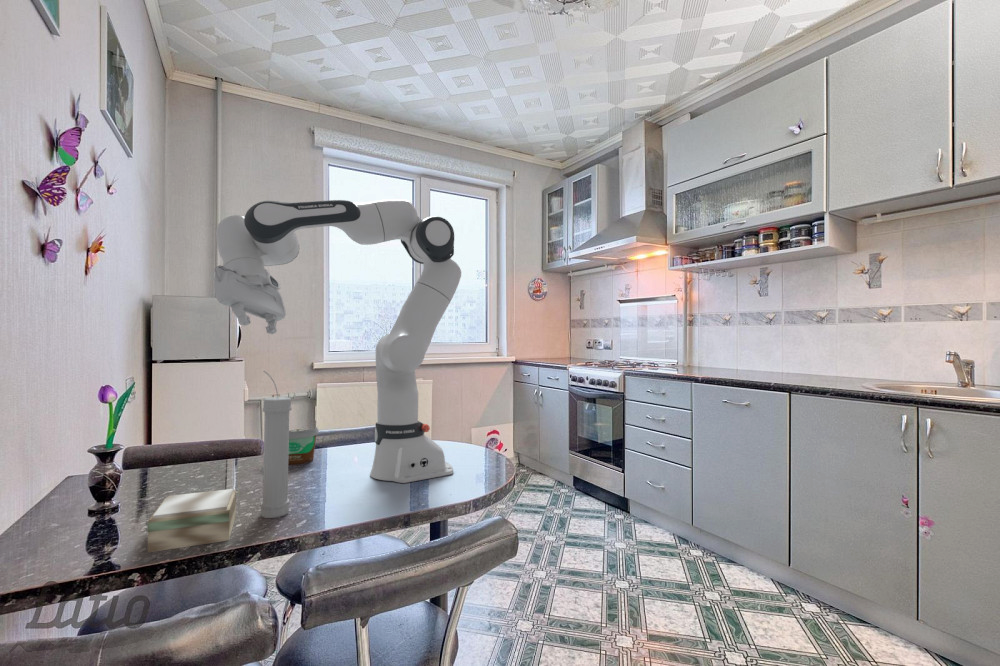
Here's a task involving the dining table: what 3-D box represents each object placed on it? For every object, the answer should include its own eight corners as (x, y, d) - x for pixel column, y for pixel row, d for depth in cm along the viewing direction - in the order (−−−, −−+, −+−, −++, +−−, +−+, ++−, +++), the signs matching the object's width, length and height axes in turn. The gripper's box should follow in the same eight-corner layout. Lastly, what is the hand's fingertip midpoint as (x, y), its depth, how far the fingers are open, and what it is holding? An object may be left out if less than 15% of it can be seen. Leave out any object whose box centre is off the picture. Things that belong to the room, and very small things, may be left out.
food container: (272, 468, 130) (273, 432, 130) (273, 462, 135) (274, 429, 136) (319, 463, 135) (319, 430, 135) (318, 458, 140) (319, 426, 141)
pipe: (277, 520, 92) (280, 372, 93) (250, 517, 94) (254, 371, 94) (295, 510, 98) (298, 370, 98) (269, 507, 99) (272, 369, 100)
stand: (235, 517, 94) (236, 487, 94) (228, 541, 83) (229, 507, 83) (164, 526, 89) (165, 495, 89) (146, 553, 78) (147, 517, 78)
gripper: (226, 256, 100) (239, 312, 97) (283, 285, 120) (296, 332, 117) (201, 268, 101) (213, 324, 97) (262, 294, 121) (274, 341, 117)
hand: (259, 328), depth 107 cm, fingers open, 8 cm apart
